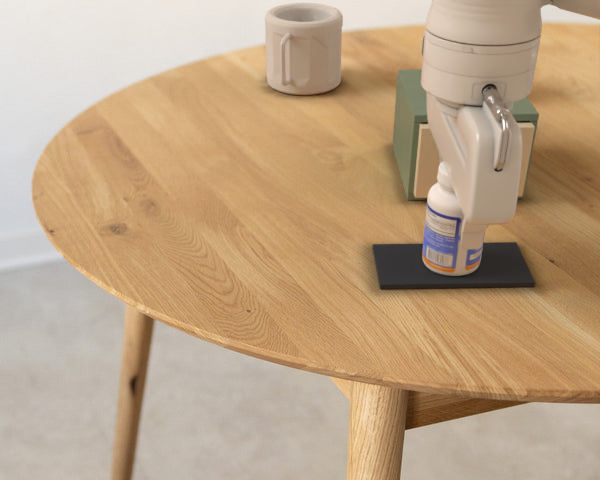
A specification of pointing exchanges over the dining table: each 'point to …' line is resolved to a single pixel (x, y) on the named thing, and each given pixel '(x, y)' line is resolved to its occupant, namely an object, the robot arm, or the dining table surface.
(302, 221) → the dining table surface
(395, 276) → the mat
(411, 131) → the cabinet
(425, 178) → the drawer
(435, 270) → the pill bottle
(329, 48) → the mug
